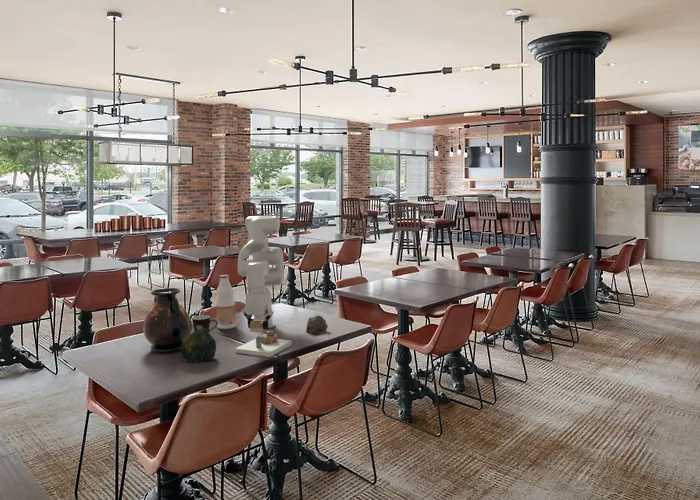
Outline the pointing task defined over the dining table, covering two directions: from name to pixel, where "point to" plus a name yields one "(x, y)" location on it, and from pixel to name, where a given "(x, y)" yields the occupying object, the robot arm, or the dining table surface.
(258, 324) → the maple gear
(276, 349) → the gear board
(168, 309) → the amphora vase
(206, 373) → the dining table surface
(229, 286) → the fruit juice
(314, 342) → the dining table surface
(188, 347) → the squash
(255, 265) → the robot arm
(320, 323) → the grey lumpy stone
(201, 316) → the coffee mug
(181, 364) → the dining table surface
